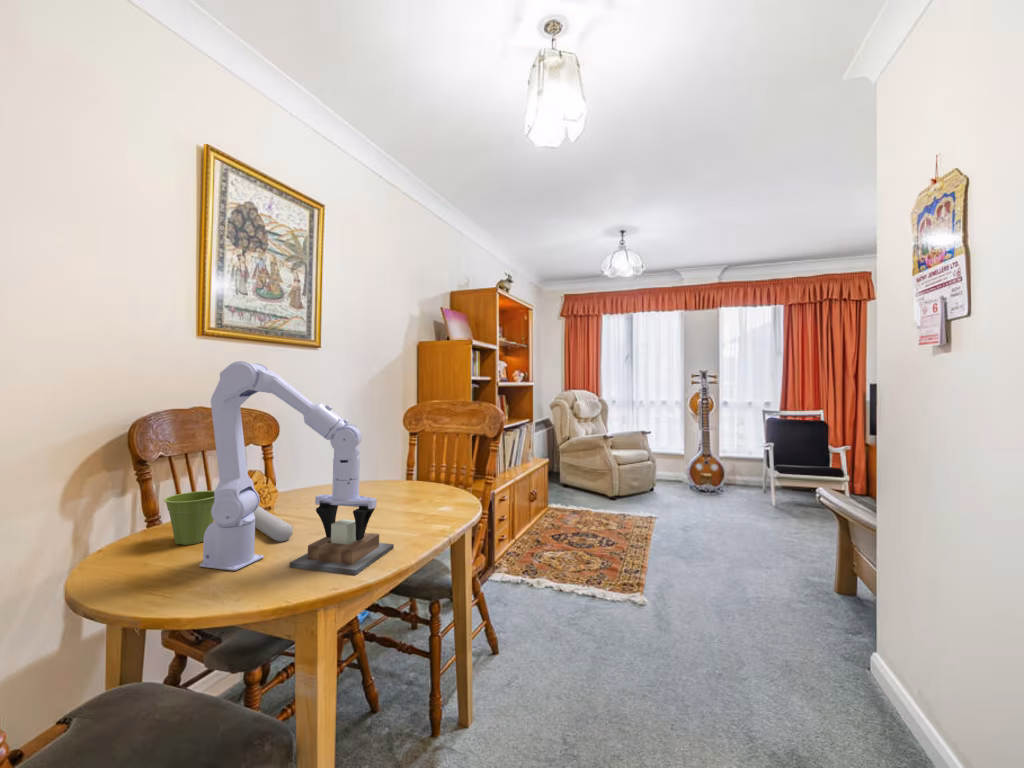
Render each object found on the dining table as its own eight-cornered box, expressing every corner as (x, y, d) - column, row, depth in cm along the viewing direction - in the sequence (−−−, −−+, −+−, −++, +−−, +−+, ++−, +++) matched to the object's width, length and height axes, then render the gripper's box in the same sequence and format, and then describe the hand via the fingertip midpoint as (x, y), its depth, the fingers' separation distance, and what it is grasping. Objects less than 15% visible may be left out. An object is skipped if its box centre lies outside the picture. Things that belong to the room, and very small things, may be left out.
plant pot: (208, 530, 118) (209, 488, 118) (229, 538, 112) (230, 494, 112) (154, 542, 108) (155, 497, 109) (174, 552, 102) (175, 504, 102)
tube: (299, 524, 112) (265, 505, 129) (278, 522, 109) (246, 502, 126) (292, 546, 111) (258, 524, 128) (270, 544, 107) (239, 521, 124)
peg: (330, 555, 99) (331, 524, 99) (341, 549, 103) (342, 519, 103) (346, 557, 98) (346, 525, 98) (356, 550, 102) (357, 520, 102)
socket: (289, 567, 94) (289, 548, 94) (335, 542, 110) (335, 526, 110) (356, 574, 91) (356, 555, 91) (393, 548, 106) (394, 531, 106)
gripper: (306, 479, 98) (305, 540, 98) (364, 483, 95) (363, 546, 95) (326, 474, 105) (325, 531, 105) (381, 477, 102) (380, 536, 102)
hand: (345, 537), depth 100 cm, fingers open, 7 cm apart
